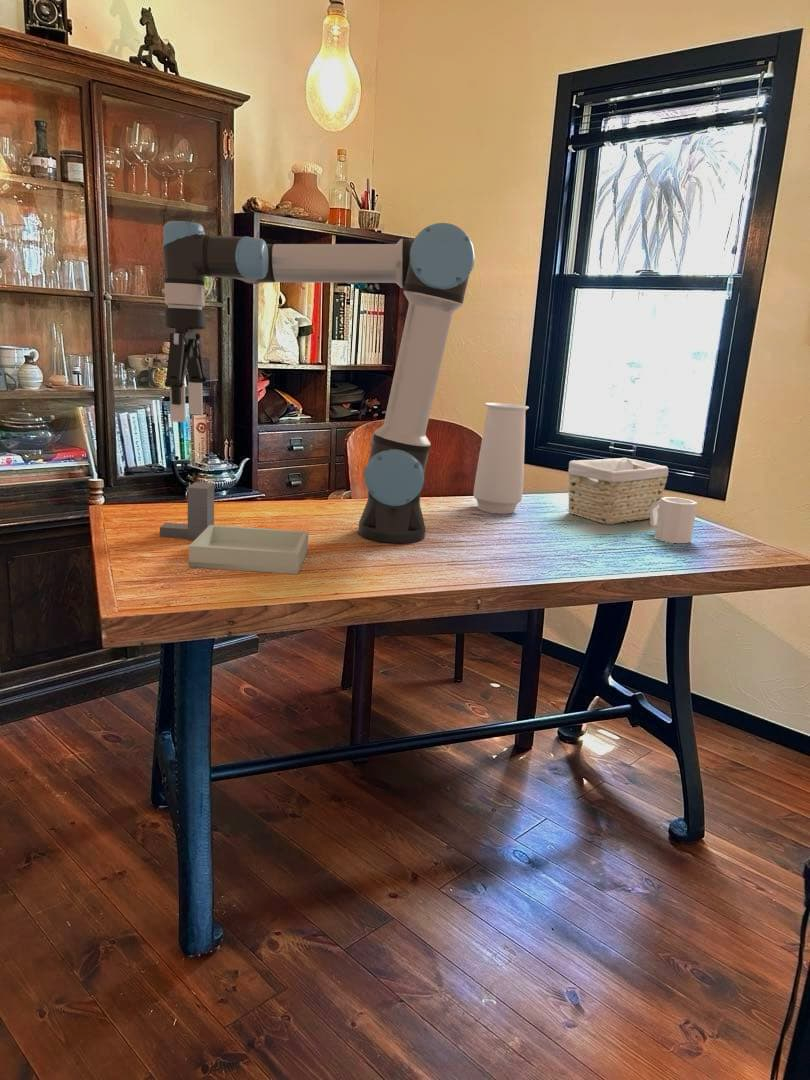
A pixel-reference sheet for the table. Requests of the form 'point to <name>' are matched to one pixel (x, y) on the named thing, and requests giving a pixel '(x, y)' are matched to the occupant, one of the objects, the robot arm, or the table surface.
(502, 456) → the vase
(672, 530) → the mug
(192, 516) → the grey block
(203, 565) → the tray
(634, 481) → the storage basket
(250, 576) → the table surface
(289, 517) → the table surface
